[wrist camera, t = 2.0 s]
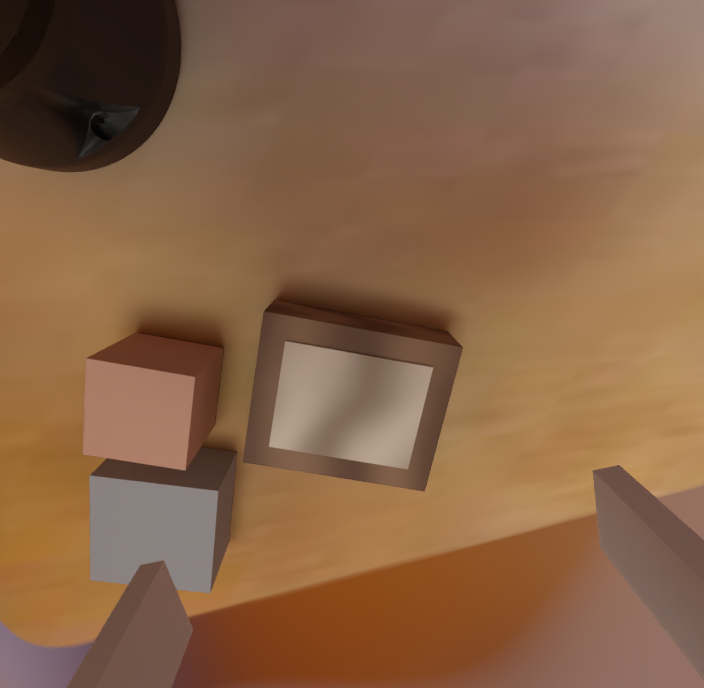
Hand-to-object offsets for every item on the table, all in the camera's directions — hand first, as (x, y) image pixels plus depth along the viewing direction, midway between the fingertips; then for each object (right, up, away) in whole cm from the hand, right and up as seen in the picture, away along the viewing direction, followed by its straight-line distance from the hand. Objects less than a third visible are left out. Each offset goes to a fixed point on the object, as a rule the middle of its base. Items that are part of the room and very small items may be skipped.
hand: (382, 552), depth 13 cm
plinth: (-1, +3, +18) cm, 18 cm away
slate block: (-14, -5, +20) cm, 25 cm away
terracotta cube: (-13, +4, +18) cm, 23 cm away
